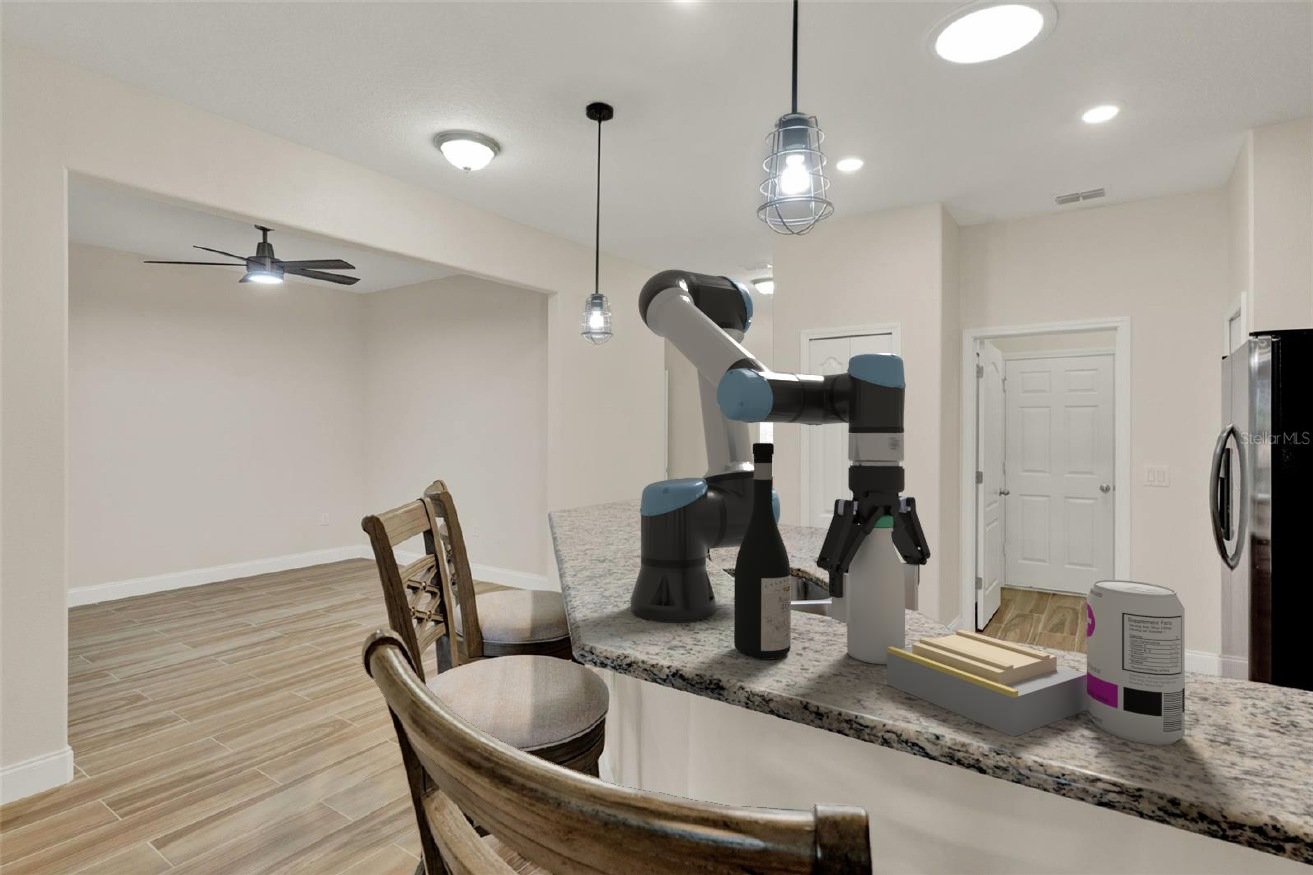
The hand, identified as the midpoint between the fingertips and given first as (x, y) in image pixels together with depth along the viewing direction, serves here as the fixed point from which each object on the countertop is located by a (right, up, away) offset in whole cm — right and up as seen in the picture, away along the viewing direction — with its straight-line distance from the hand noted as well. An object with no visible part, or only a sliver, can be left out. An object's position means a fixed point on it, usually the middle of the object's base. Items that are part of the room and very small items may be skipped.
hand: (876, 614), depth 89 cm
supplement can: (+19, -6, -22) cm, 30 cm away
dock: (+8, -6, -14) cm, 17 cm away
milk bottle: (0, -6, 0) cm, 6 cm away
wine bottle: (-16, -6, +1) cm, 17 cm away
